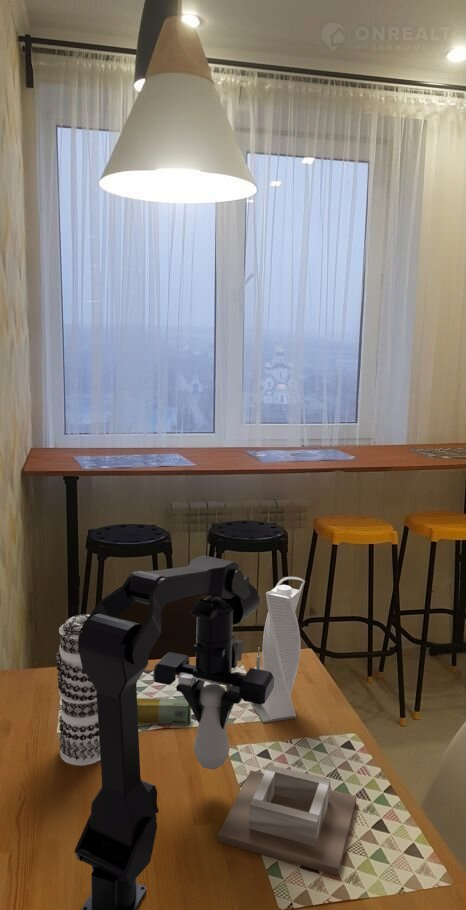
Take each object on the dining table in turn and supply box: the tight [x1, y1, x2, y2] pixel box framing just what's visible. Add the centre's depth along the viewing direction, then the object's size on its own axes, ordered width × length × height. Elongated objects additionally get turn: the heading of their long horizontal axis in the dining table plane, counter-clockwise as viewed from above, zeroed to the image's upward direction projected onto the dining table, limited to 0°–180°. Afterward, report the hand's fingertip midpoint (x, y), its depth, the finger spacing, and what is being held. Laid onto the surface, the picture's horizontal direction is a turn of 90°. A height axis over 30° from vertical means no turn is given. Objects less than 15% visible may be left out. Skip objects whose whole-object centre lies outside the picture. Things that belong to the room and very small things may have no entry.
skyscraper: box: [250, 576, 306, 724], centre depth 133 cm, size 8×8×28 cm
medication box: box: [137, 697, 192, 725], centre depth 132 cm, size 12×3×4 cm, turn 90°
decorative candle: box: [55, 613, 101, 767], centre depth 119 cm, size 9×9×25 cm
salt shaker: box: [193, 683, 230, 771], centre depth 110 cm, size 6×6×13 cm
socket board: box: [217, 764, 357, 877], centre depth 105 cm, size 16×18×5 cm
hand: (212, 725), depth 109 cm, fingers closed on salt shaker, 3 cm apart
